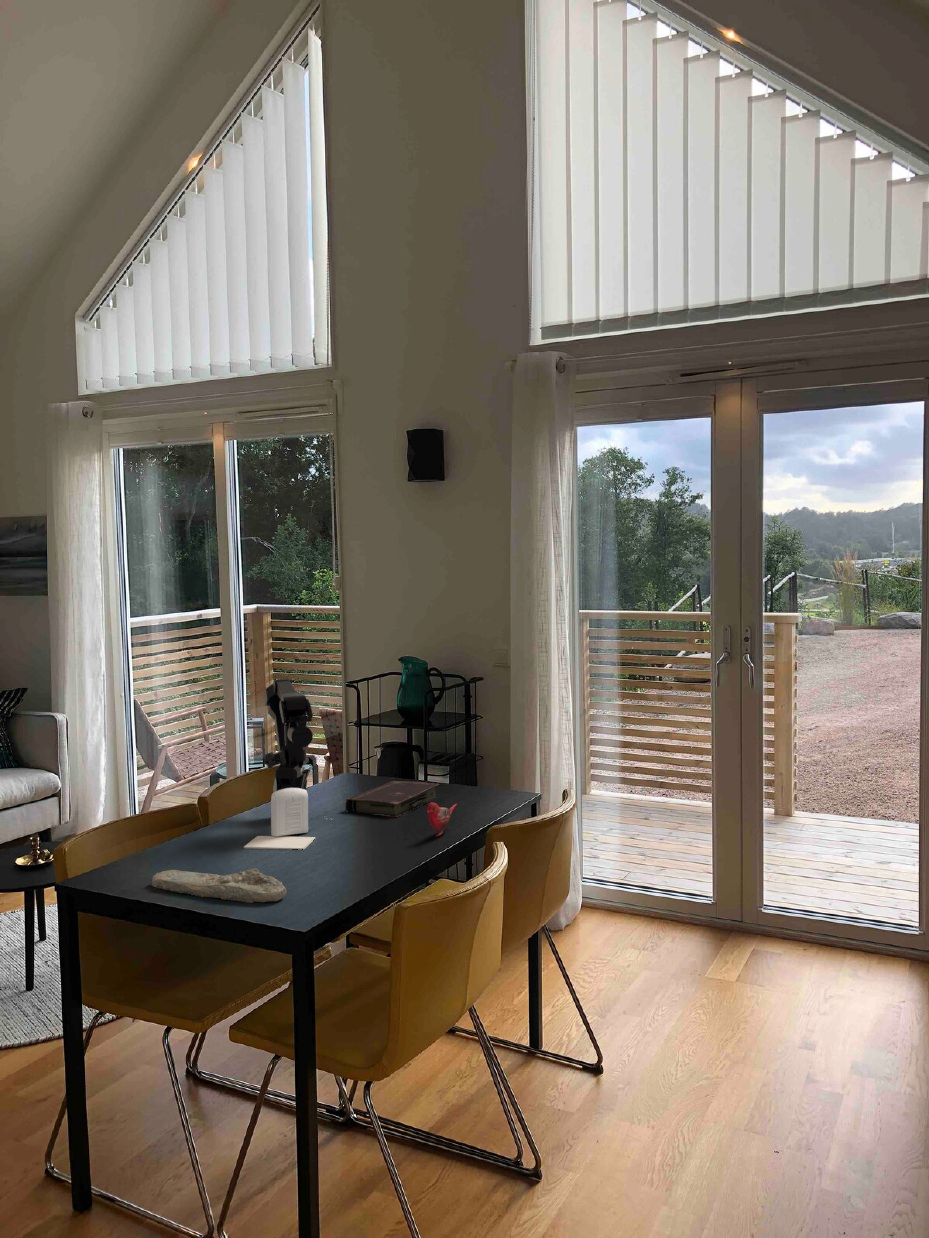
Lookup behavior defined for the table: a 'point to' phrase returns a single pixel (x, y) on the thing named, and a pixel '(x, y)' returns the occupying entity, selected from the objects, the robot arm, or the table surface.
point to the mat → (279, 842)
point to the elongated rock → (222, 885)
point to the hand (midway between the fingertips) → (297, 797)
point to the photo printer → (289, 812)
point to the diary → (392, 798)
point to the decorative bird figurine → (439, 816)
